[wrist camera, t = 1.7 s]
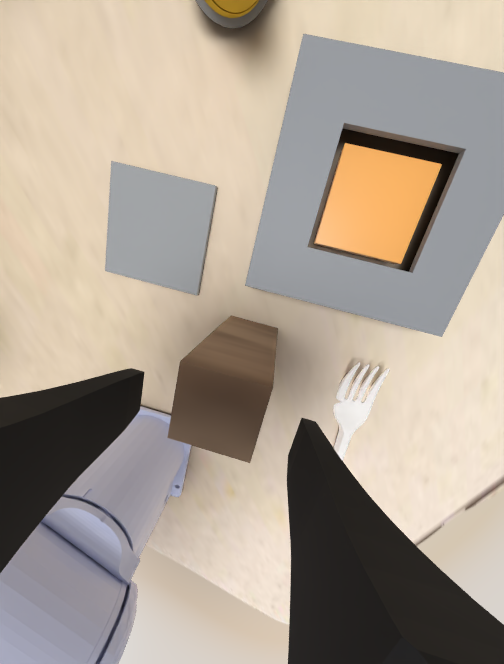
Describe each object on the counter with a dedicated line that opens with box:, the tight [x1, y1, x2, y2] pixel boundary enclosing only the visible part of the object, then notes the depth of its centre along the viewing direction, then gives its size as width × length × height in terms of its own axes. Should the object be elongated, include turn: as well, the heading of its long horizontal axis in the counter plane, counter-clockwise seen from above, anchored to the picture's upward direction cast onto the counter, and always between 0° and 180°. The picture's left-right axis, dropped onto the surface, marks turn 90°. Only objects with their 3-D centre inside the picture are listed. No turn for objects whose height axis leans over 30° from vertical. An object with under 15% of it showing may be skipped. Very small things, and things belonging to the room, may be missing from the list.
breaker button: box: [314, 143, 442, 264], centre depth 15 cm, size 6×6×1 cm
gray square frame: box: [245, 34, 504, 337], centre depth 15 cm, size 13×13×3 cm
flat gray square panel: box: [105, 161, 217, 295], centre depth 18 cm, size 8×8×1 cm
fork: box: [333, 363, 390, 461], centre depth 21 cm, size 3×20×2 cm, turn 171°
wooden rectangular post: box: [167, 316, 278, 463], centre depth 15 cm, size 4×4×10 cm
